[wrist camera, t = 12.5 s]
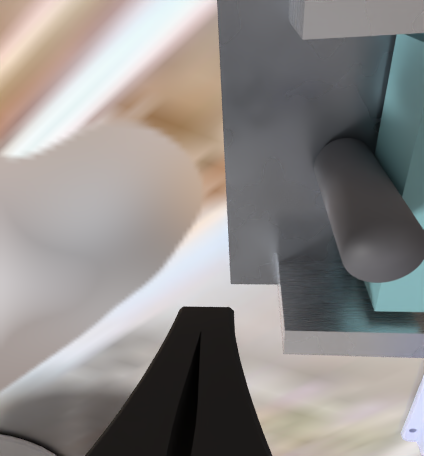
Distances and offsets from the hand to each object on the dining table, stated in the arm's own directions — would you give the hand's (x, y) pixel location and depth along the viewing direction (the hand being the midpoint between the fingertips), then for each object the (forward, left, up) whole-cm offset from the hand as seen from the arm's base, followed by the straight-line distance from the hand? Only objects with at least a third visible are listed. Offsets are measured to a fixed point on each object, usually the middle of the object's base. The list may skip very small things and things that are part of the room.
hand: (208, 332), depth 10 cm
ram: (+1, -6, -8) cm, 10 cm away
